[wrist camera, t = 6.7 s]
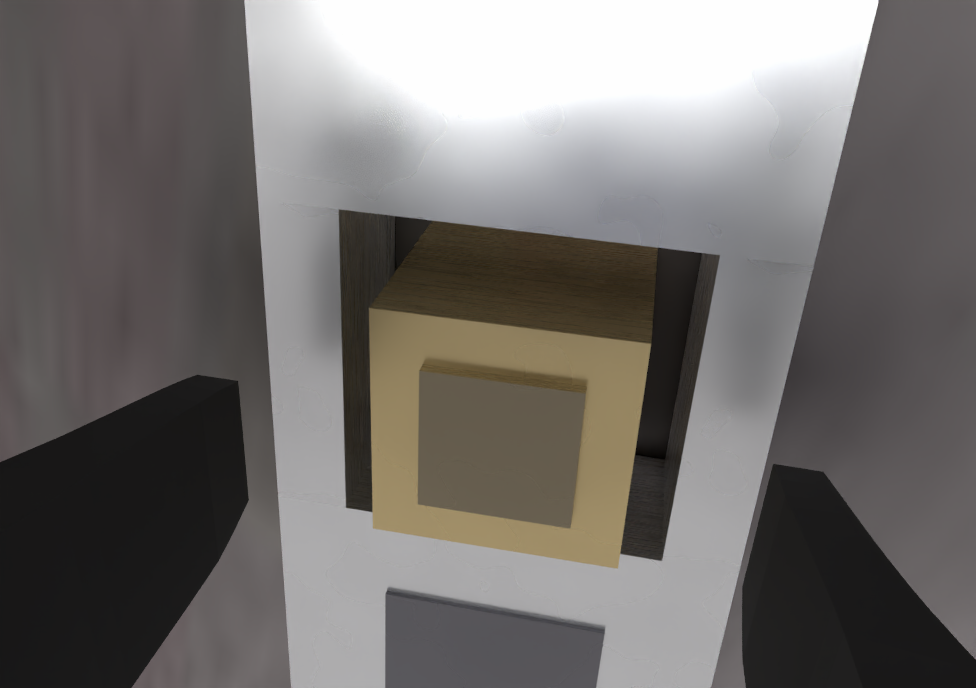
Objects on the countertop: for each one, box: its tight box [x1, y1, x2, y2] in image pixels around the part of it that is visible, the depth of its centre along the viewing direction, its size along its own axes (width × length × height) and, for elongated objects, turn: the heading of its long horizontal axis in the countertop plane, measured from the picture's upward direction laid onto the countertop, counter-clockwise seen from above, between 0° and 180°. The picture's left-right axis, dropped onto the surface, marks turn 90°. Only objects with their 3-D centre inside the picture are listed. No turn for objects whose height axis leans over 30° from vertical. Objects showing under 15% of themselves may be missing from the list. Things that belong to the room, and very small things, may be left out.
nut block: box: [369, 221, 658, 569], centre depth 15 cm, size 4×4×4 cm
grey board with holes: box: [244, 0, 879, 688], centre depth 17 cm, size 8×22×3 cm, turn 177°
